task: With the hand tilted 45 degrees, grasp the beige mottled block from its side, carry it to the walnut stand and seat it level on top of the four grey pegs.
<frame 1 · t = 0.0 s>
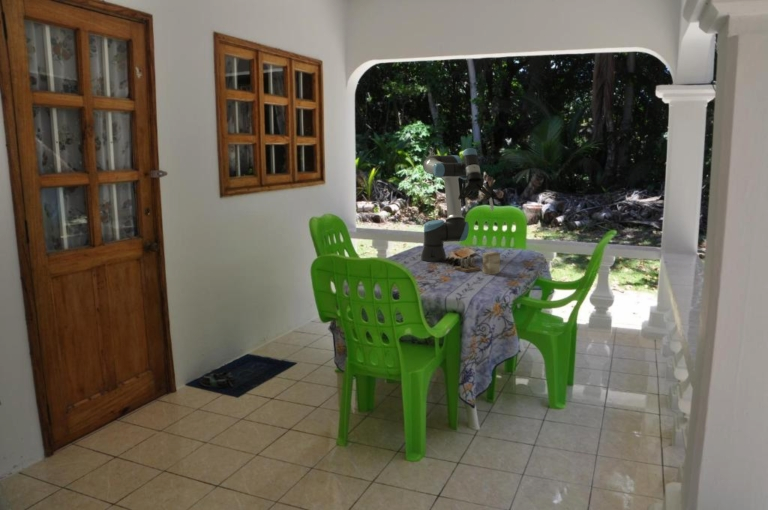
hand: (479, 210, 324), 36 cm above the table, tool tilted 35°, fingers open, 13 cm apart
stand: (467, 269, 348), on the table
beige mottled block: (490, 272, 341), on the table
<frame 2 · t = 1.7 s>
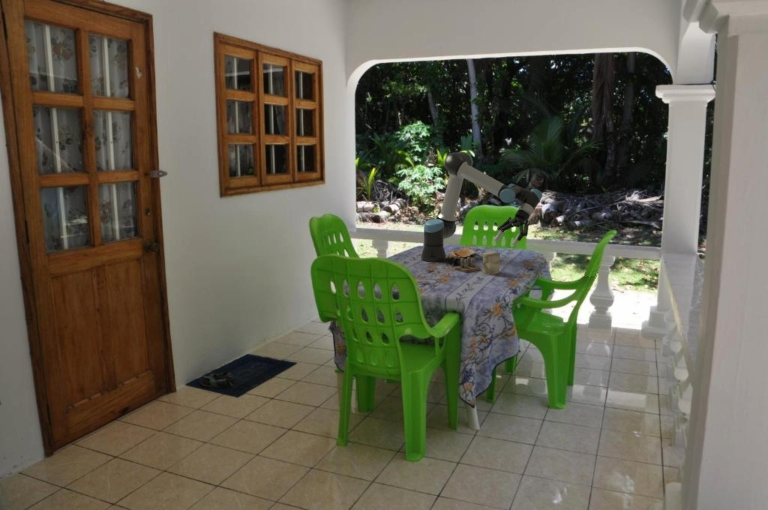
hand: (504, 242, 344), 15 cm above the table, tool tilted 45°, fingers open, 13 cm apart
nothing on the table moved.
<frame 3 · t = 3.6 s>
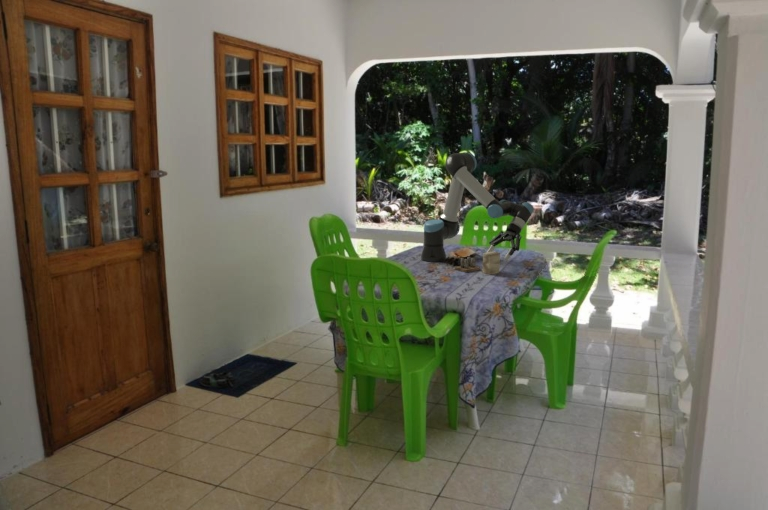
hand: (496, 257, 340), 8 cm above the table, tool tilted 45°, fingers open, 13 cm apart
nothing on the table moved.
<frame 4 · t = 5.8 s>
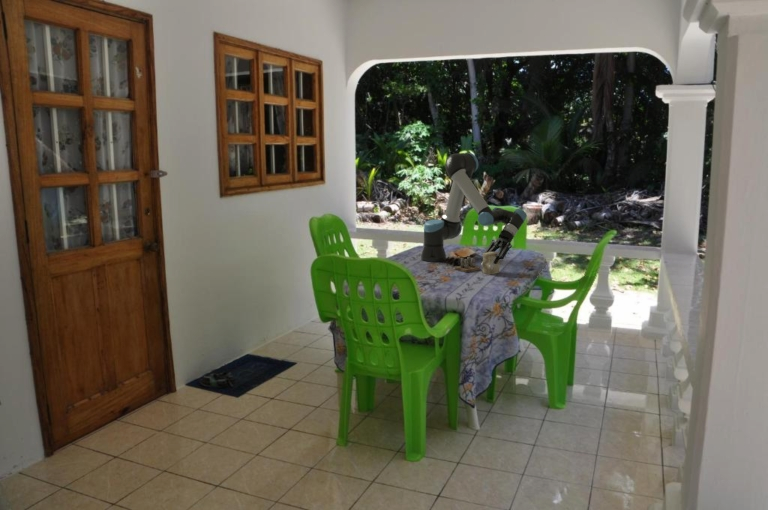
hand: (486, 266, 338), 4 cm above the table, tool tilted 45°, fingers closed on beige mottled block, 5 cm apart
beige mottled block: (490, 272, 341), on the table, touching gripper
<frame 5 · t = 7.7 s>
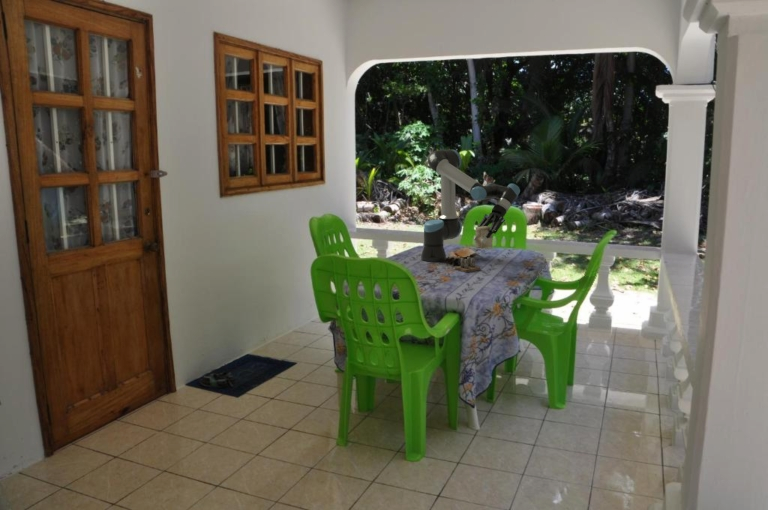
hand: (479, 241, 337), 18 cm above the table, tool tilted 45°, fingers closed on beige mottled block, 5 cm apart
beige mottled block: (483, 247, 340), point 14 cm above the table, touching gripper
when the fingers open (12 cm above the table, at t = 9.6 s): beige mottled block drops 1 cm, resting on stand.
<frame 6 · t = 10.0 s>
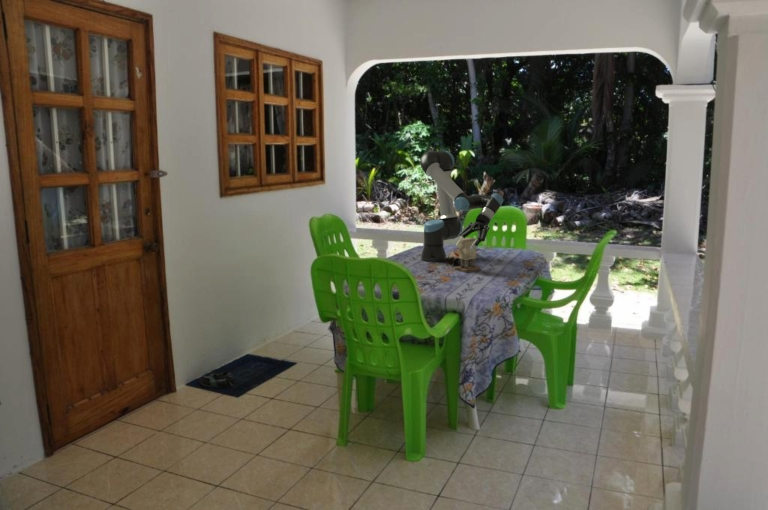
hand: (464, 248, 344), 13 cm above the table, tool tilted 45°, fingers open, 10 cm apart
beige mottled block: (467, 258, 347), point 6 cm above the table, touching stand
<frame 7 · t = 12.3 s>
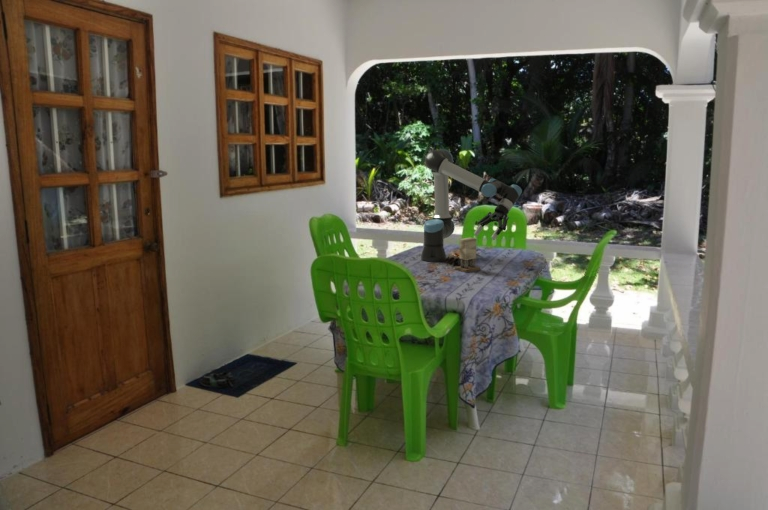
hand: (483, 236, 352), 17 cm above the table, tool tilted 45°, fingers open, 13 cm apart
nothing on the table moved.
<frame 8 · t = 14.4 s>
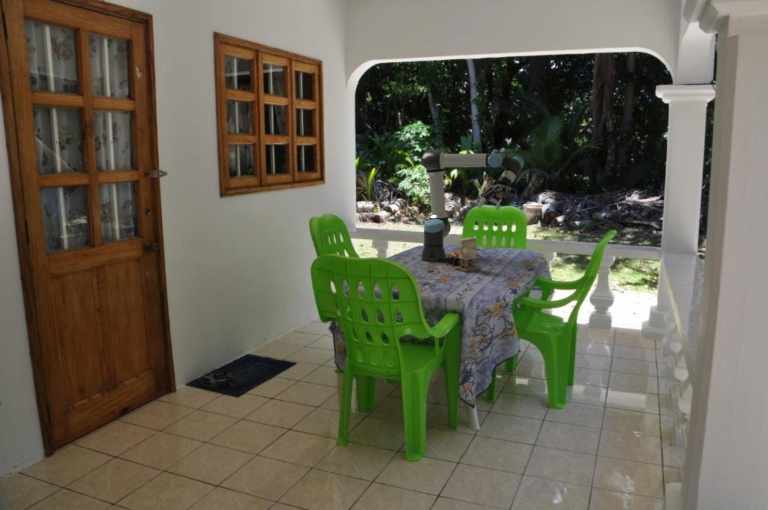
hand: (487, 208, 354), 33 cm above the table, tool tilted 45°, fingers open, 13 cm apart
nothing on the table moved.
at the end: beige mottled block 0.1 cm off-centre on the stand, point 6.5 cm above the stand's base; beige mottled block tilted 0°; the gripper is holding nothing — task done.
